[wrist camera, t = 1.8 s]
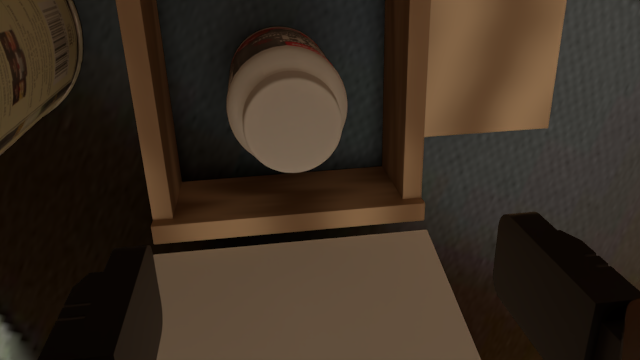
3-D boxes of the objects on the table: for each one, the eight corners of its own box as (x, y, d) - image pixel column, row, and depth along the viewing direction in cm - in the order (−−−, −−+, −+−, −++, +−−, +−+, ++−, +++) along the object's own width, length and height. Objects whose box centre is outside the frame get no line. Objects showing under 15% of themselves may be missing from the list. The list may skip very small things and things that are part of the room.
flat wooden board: (415, 133, 33) (419, 137, 32) (423, -48, 29) (427, -47, 28) (541, 123, 34) (548, 127, 33) (566, -53, 30) (574, -53, 29)
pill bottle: (320, 17, 30) (354, 50, 21) (331, 112, 32) (367, 179, 23) (220, 32, 29) (211, 71, 20) (238, 127, 31) (238, 200, 22)
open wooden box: (166, 198, 32) (153, 244, 28) (126, -60, 27) (101, -60, 22) (397, 180, 34) (424, 220, 29) (405, -68, 28) (439, -70, 24)
